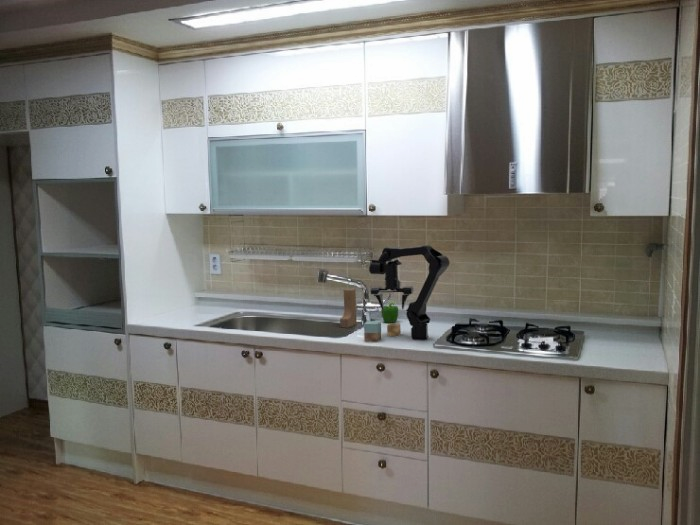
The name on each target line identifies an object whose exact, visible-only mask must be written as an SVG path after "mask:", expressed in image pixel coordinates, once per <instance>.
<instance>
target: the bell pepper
mask: <svg viewBox="0 0 700 525" xmlns="http://www.w3.org/2000/svg"><path fill="white" fill-rule="evenodd" d="M381 315H382V316H381V317H382V319H383V322H384V323H388V324H389V323H397V320H398V318H399V317H398V316H399V308H398V306H396V305H395V302H390V303H389V304H388V306H387V305H384V309H382V308H381Z"/></svg>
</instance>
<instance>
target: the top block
mask: <svg viewBox="0 0 700 525" xmlns="http://www.w3.org/2000/svg"><path fill="white" fill-rule="evenodd" d="M363 328H364V333H379V332H380V331H381V332H382V321H380V320H379V321H378V320H373V321H372V320H366V322H365V323H364V324H363ZM364 333H363V334H364Z"/></svg>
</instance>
